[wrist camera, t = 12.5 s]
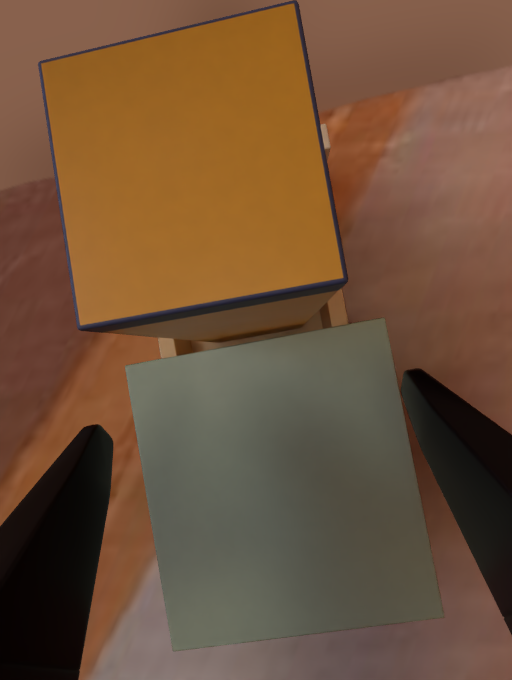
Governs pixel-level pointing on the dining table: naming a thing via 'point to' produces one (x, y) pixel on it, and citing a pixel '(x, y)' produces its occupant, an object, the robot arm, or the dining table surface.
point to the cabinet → (283, 488)
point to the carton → (195, 180)
